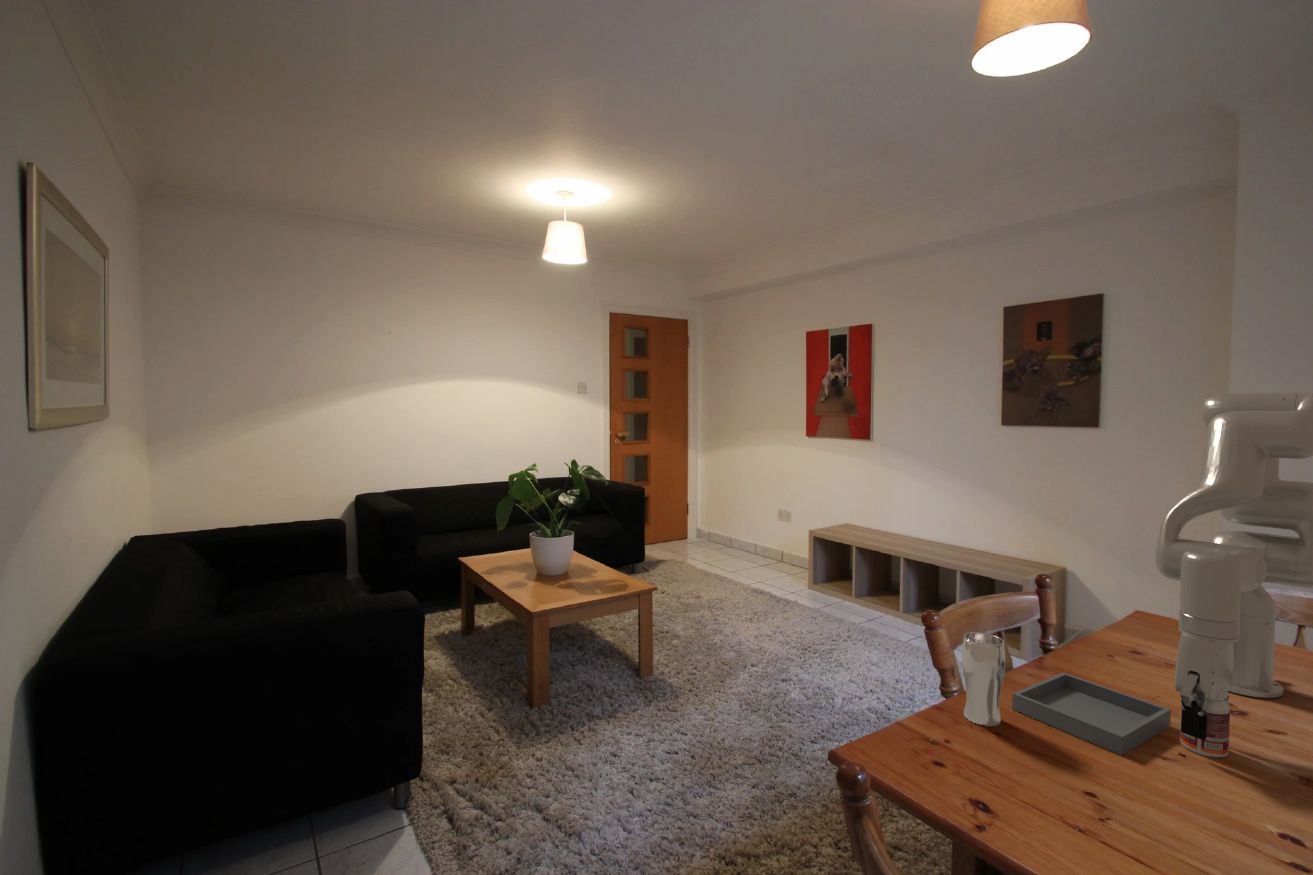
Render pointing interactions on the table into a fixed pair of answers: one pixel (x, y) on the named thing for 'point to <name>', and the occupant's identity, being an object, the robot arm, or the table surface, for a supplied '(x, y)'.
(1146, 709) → the tray
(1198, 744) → the pill bottle
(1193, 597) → the robot arm
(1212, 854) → the table surface
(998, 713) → the beer glass
